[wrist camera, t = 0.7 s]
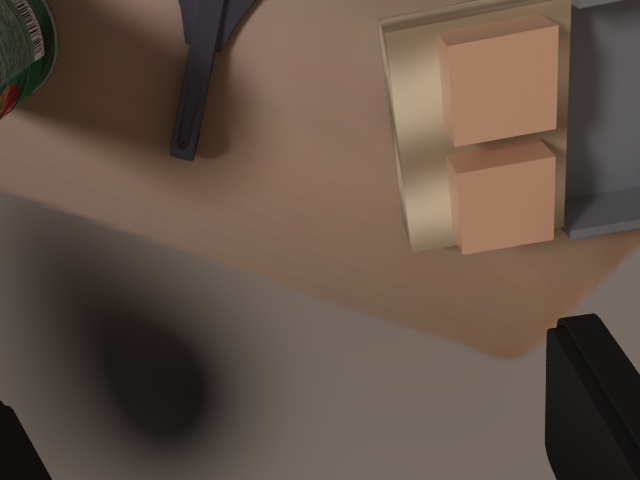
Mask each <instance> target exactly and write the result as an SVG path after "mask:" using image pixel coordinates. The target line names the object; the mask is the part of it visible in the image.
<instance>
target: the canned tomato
mask: <svg viewBox="0 0 640 480" xmlns="http://www.w3.org/2000/svg"><path fill="white" fill-rule="evenodd" d="M57 53H58V33H57V28H56V24H55V20H54V17H53V14H52V12H51V10H50V8H49V6H48V3H47V1H46V0H0V120H1V119H2V118H3V117H4V116H6V115H7V114H8V113H9V112H10V111H12V110H13V109H14V108H15V107H16V106H17V105H19V104H20V103H21V102H22V101H23V100H25V99H26V98H27V97H28V96H29V95H30V94H31V93H33V92H35V91H36V90H37V89H38V88H40V87H41V86H42V85H43V84H44V83H45V82H46V80H47V79H48V77H49V76H50V74H51V73H52V71H53V68H54V65H55V63H56V60H57Z"/></svg>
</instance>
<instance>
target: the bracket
mask: <svg viewBox="0 0 640 480" xmlns="http://www.w3.org/2000/svg"><path fill="white" fill-rule="evenodd" d="M255 1H256V0H179V4H180V8H181V14H182V20H183V28H184V36H185V43H187V44H190V48H189V54H188V59H187V65H186V70H185V75H184V80H183V85H182V91H181V96H180V101H179V106H178V111H177V116H176V121H175V126H174V131H173V135H172V140H171V146H170V156H172V157H176V158H181V159H185V160H189V161H193V159H194V156H195V153H196V148H197V143H198V138H199V133H200V128H201V122H202V117H203V112H204V107H205V101H206V96H207V91H208V86H209V81H210V75H211V70H212V65H213V60H214V54H215V52H221V50H222V48H223V47H224V45H225V43H226V41H227V39H228V38H229V36H230V34H231V32H232V31H233V29H234V27H235V25H236V24H237V23H238V21H239V20H240V19H241V17H242V16H243V15H244V14H245V12H246V11H247V10H248V9H249V8H250V7H251V6H252V4H253V3H254V2H255Z"/></svg>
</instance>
